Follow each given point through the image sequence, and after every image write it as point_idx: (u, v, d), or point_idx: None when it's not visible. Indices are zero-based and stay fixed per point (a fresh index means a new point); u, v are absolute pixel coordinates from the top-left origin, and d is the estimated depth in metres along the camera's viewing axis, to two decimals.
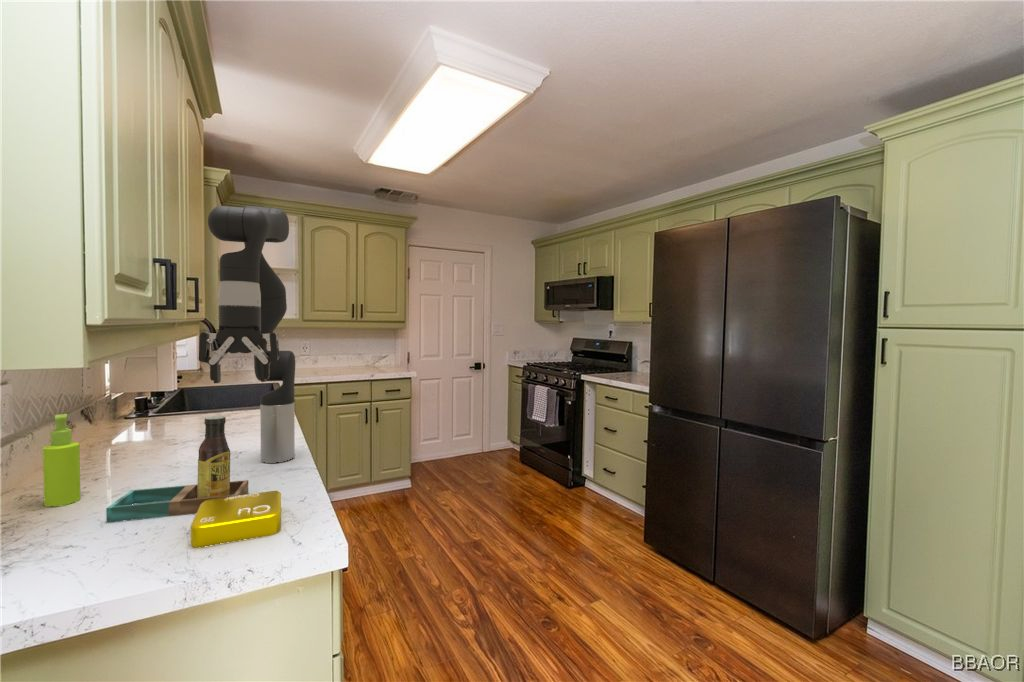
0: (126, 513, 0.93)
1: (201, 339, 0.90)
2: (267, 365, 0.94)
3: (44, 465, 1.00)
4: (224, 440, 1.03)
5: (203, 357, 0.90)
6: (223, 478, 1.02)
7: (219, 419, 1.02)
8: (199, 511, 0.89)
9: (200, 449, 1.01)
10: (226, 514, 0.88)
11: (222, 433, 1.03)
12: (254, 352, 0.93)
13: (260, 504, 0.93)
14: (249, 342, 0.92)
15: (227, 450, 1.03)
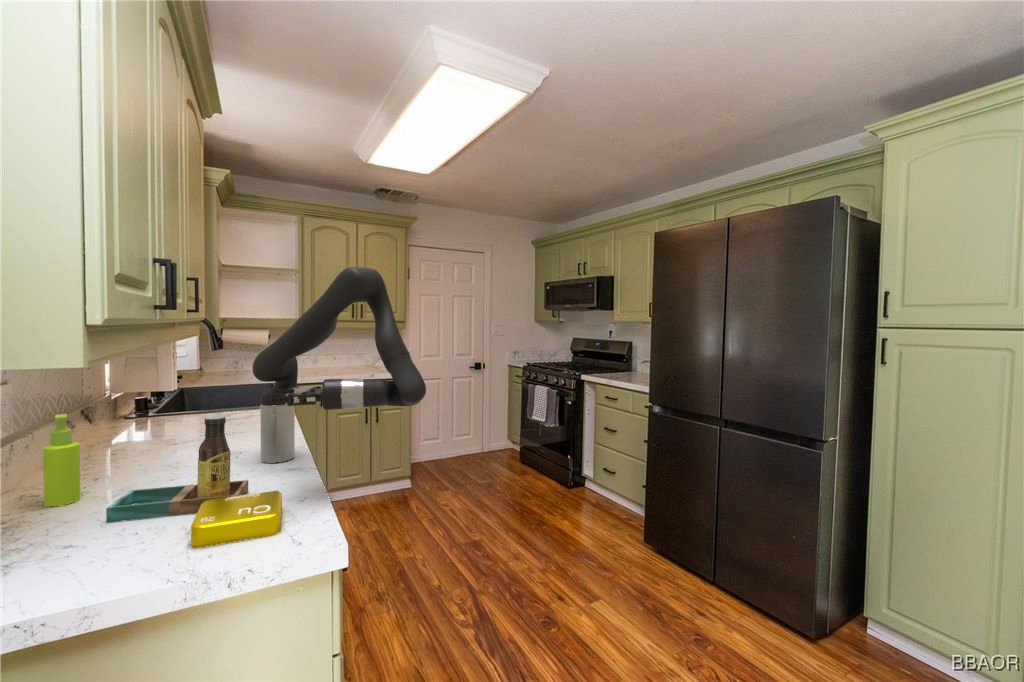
0: (126, 513, 0.93)
1: (308, 404, 1.03)
2: None
3: (44, 465, 1.00)
4: (224, 440, 1.03)
5: None
6: (223, 478, 1.02)
7: (219, 419, 1.02)
8: (200, 511, 0.89)
9: (200, 449, 1.01)
10: (226, 514, 0.88)
11: (222, 433, 1.03)
12: None
13: (261, 504, 0.93)
14: None
15: (227, 450, 1.03)
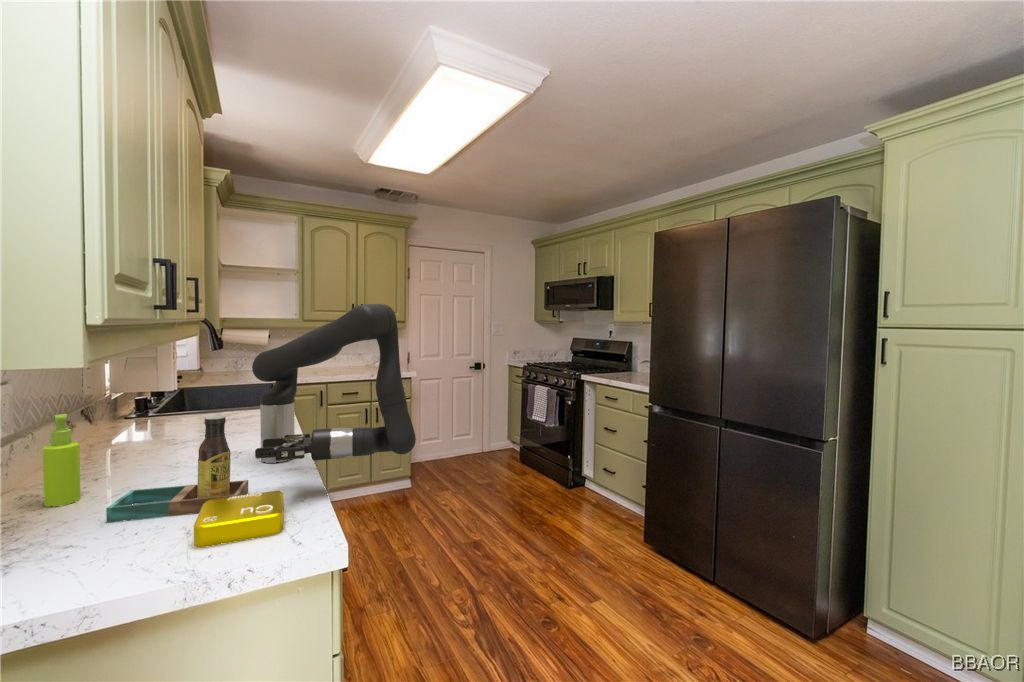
0: (126, 513, 0.93)
1: None
2: None
3: (44, 465, 1.00)
4: (224, 440, 1.03)
5: None
6: (223, 478, 1.02)
7: (219, 419, 1.02)
8: (202, 511, 0.90)
9: (200, 449, 1.01)
10: (229, 513, 0.88)
11: (222, 433, 1.03)
12: None
13: (263, 503, 0.93)
14: None
15: (227, 450, 1.03)
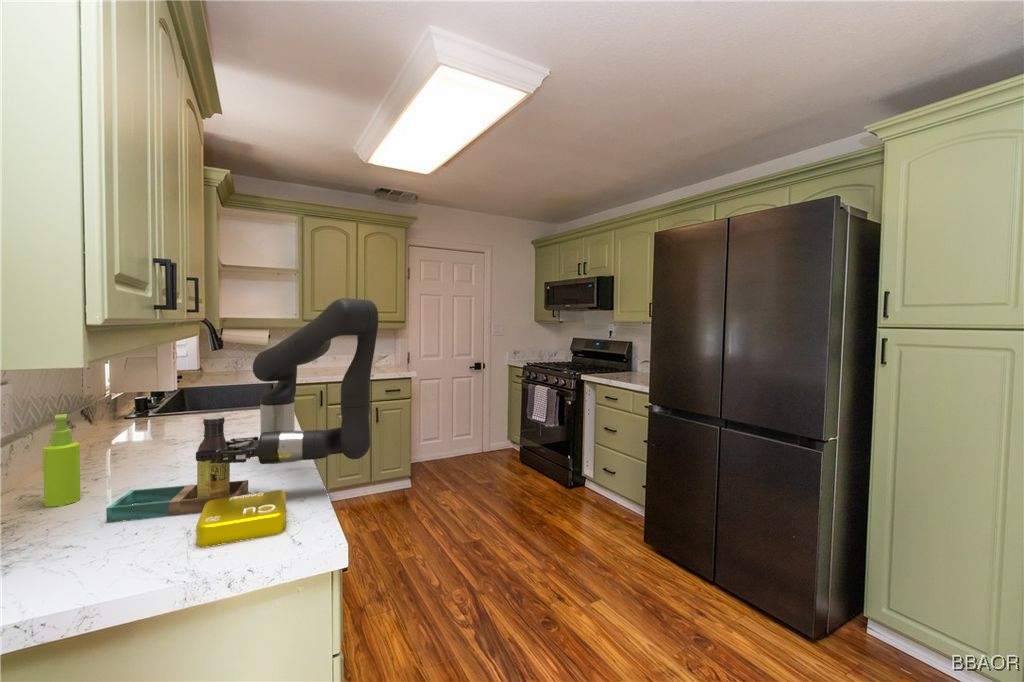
0: (126, 513, 0.93)
1: None
2: None
3: (44, 465, 1.00)
4: (223, 440, 1.03)
5: None
6: (222, 477, 1.02)
7: (218, 419, 1.02)
8: (204, 511, 0.90)
9: (199, 449, 1.00)
10: (231, 513, 0.88)
11: (221, 433, 1.03)
12: None
13: (265, 503, 0.94)
14: None
15: None
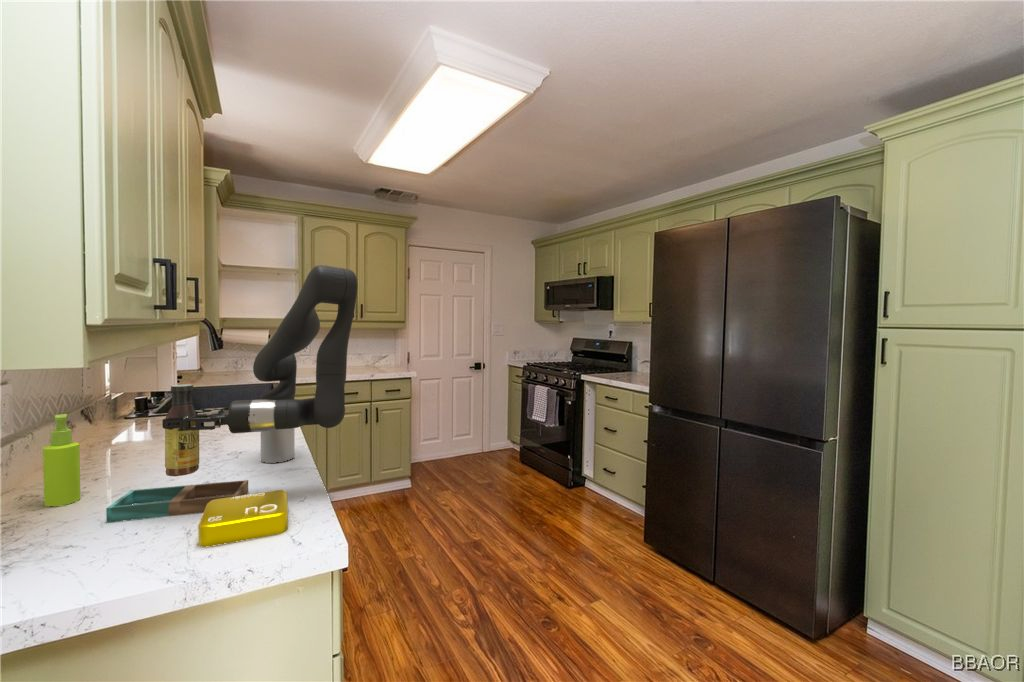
0: (126, 513, 0.93)
1: None
2: None
3: (44, 465, 1.00)
4: (192, 408, 1.00)
5: None
6: (191, 446, 0.99)
7: (186, 387, 0.99)
8: (206, 510, 0.90)
9: (167, 417, 0.98)
10: (233, 513, 0.89)
11: (190, 401, 1.00)
12: None
13: (267, 503, 0.94)
14: None
15: None
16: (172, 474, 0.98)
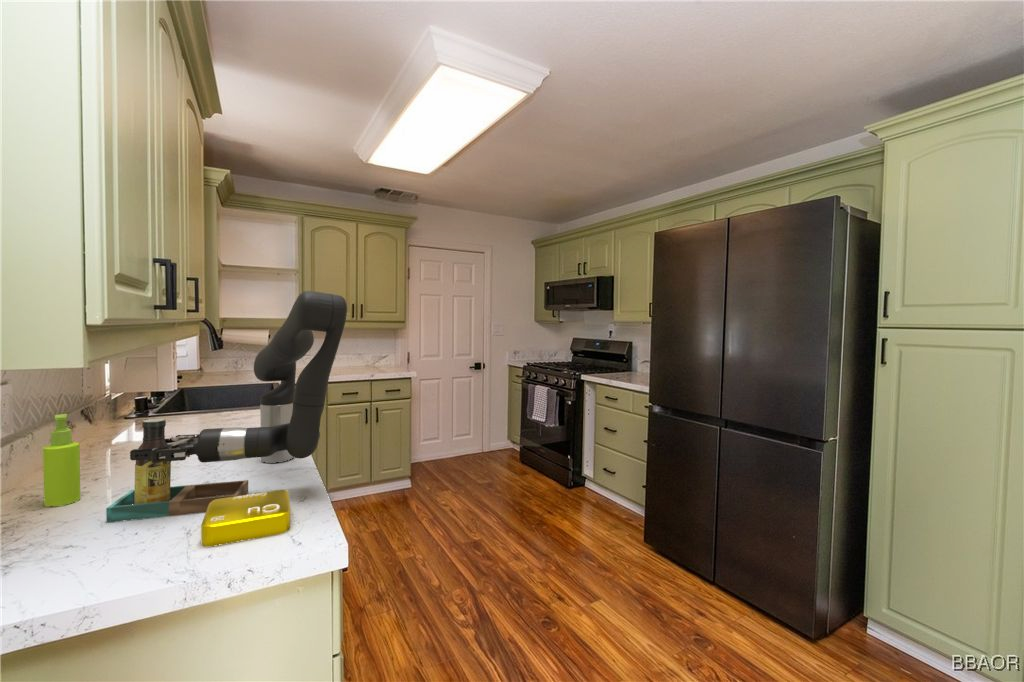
0: (126, 513, 0.93)
1: None
2: None
3: (44, 465, 1.00)
4: (163, 444, 0.99)
5: None
6: (161, 483, 0.98)
7: (158, 422, 0.98)
8: (208, 510, 0.90)
9: None
10: (236, 513, 0.89)
11: (161, 436, 0.99)
12: None
13: (269, 503, 0.94)
14: None
15: None
16: None
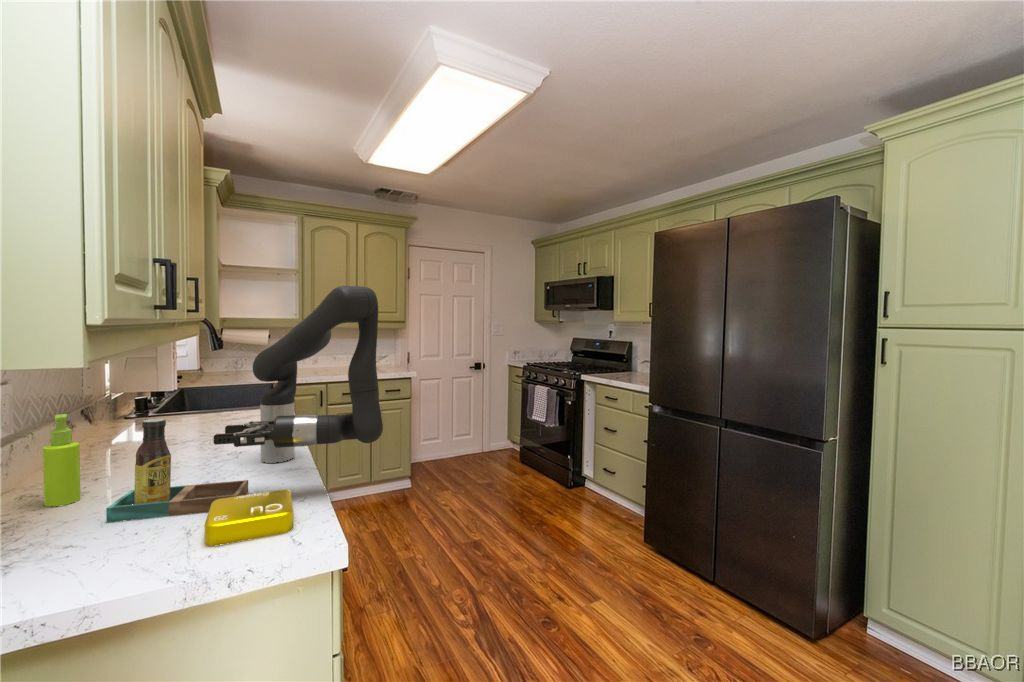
0: (126, 513, 0.93)
1: None
2: None
3: (44, 465, 1.00)
4: (163, 444, 0.99)
5: None
6: (161, 483, 0.98)
7: (158, 422, 0.98)
8: (211, 510, 0.90)
9: (137, 453, 0.97)
10: (239, 512, 0.89)
11: (161, 436, 0.99)
12: None
13: (272, 502, 0.94)
14: None
15: (166, 454, 0.99)
16: None
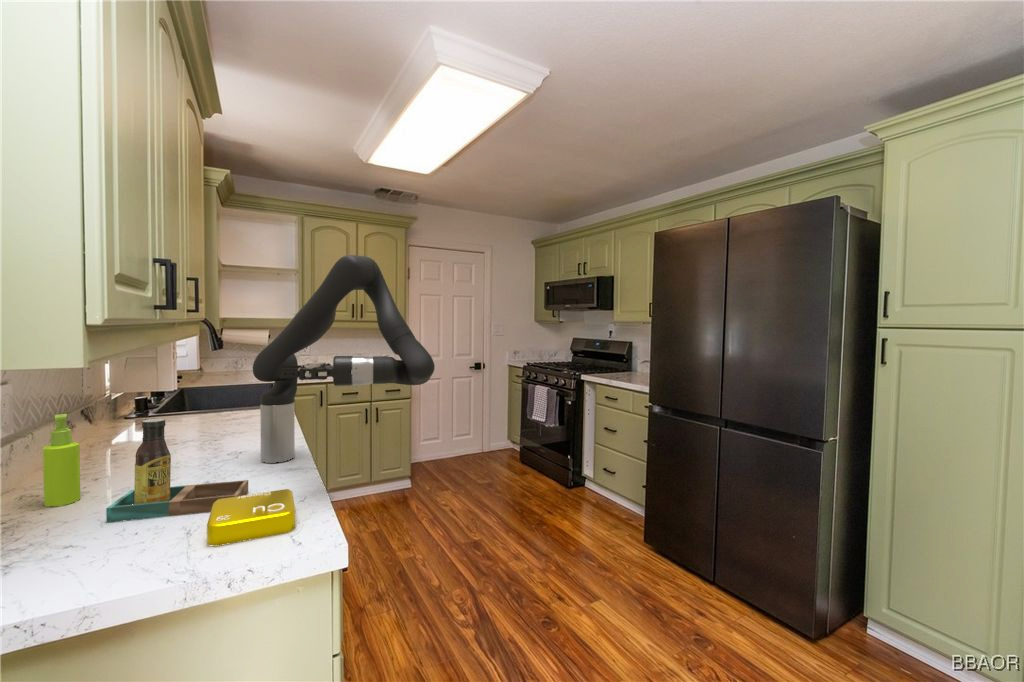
0: (126, 513, 0.93)
1: (320, 379, 1.04)
2: None
3: (44, 465, 1.00)
4: (163, 444, 0.99)
5: None
6: (161, 483, 0.98)
7: (157, 422, 0.98)
8: (213, 510, 0.90)
9: (137, 453, 0.97)
10: (241, 512, 0.89)
11: (161, 436, 0.99)
12: None
13: (274, 502, 0.94)
14: None
15: (166, 454, 0.99)
16: None
